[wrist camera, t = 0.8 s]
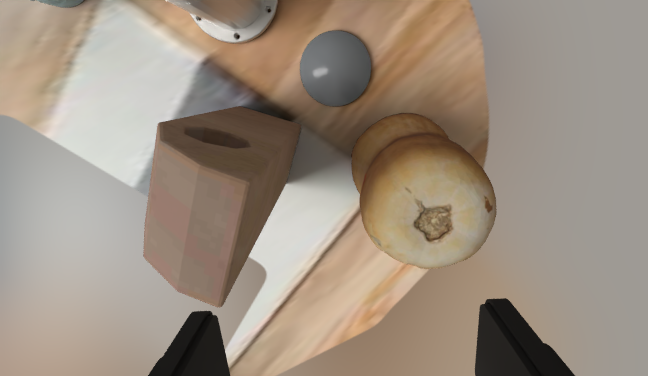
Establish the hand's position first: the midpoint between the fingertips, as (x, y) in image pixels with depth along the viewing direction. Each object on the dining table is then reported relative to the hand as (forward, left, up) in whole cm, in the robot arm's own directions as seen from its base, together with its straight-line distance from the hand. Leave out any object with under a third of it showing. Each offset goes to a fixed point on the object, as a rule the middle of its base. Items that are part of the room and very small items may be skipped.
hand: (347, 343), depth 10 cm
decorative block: (0, -12, -40) cm, 42 cm away
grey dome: (-10, 0, -40) cm, 41 cm away
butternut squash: (+3, +8, -40) cm, 41 cm away
